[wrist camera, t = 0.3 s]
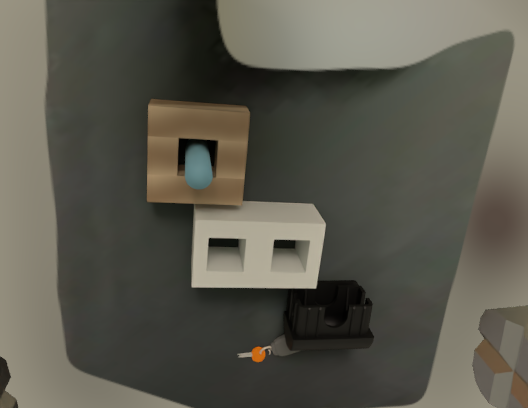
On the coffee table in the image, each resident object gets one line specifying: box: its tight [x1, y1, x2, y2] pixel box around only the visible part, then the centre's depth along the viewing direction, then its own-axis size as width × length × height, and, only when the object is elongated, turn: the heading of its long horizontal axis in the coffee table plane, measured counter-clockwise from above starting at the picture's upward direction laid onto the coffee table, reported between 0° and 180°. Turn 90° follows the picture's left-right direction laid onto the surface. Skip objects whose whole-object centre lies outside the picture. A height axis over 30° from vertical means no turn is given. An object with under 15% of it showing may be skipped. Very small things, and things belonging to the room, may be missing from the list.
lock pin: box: [185, 139, 213, 189], centre depth 49 cm, size 2×2×10 cm
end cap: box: [284, 280, 374, 351], centre depth 60 cm, size 10×7×7 cm
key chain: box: [238, 334, 299, 362], centre depth 65 cm, size 13×4×2 cm, turn 110°
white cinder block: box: [191, 201, 326, 289], centre depth 55 cm, size 8×14×6 cm, turn 84°
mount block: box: [147, 99, 250, 205], centre depth 52 cm, size 10×10×4 cm
